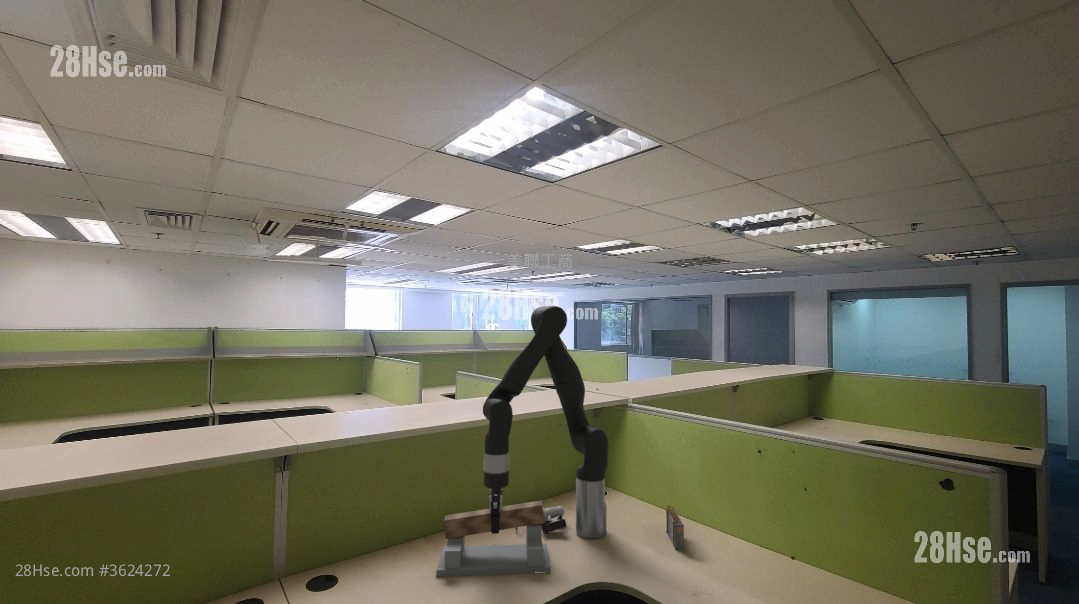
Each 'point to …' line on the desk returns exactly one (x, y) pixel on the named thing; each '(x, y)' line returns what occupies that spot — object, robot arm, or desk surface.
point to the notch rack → (495, 557)
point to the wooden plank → (482, 523)
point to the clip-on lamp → (553, 519)
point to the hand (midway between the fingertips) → (495, 529)
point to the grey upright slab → (674, 528)
